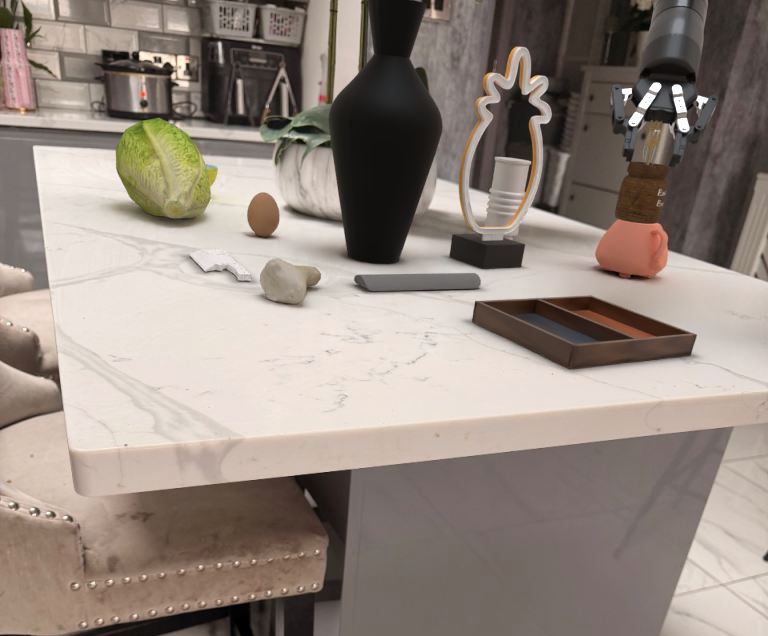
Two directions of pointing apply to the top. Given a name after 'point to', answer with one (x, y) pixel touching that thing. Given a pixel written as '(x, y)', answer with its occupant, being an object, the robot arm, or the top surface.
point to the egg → (263, 214)
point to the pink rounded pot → (633, 249)
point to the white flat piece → (219, 262)
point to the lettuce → (163, 170)
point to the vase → (384, 137)
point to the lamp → (490, 242)
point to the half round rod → (418, 281)
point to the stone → (287, 281)
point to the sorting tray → (582, 330)
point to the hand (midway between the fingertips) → (651, 159)
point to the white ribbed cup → (506, 192)
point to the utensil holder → (643, 186)
